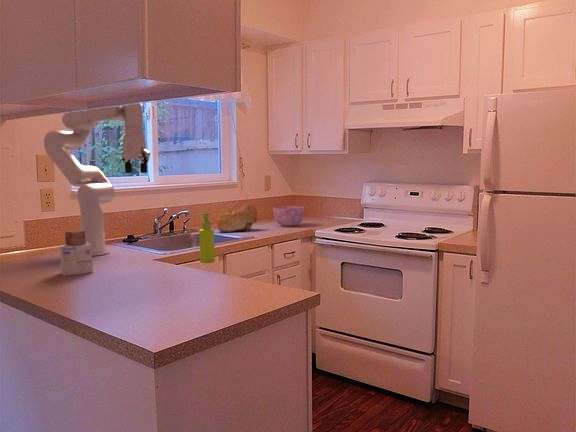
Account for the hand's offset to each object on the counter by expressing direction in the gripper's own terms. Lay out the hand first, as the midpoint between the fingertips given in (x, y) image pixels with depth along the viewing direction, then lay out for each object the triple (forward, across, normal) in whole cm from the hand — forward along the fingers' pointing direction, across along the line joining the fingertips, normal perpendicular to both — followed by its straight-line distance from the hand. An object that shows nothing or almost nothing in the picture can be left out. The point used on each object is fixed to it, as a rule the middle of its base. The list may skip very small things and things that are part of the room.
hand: (136, 172), depth 219 cm
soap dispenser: (+36, +32, +7) cm, 49 cm away
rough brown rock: (+37, -17, +85) cm, 94 cm away
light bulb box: (+37, +4, -33) cm, 49 cm away
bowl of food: (+36, -1, +116) cm, 122 cm away
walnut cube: (+26, +4, -33) cm, 42 cm away
